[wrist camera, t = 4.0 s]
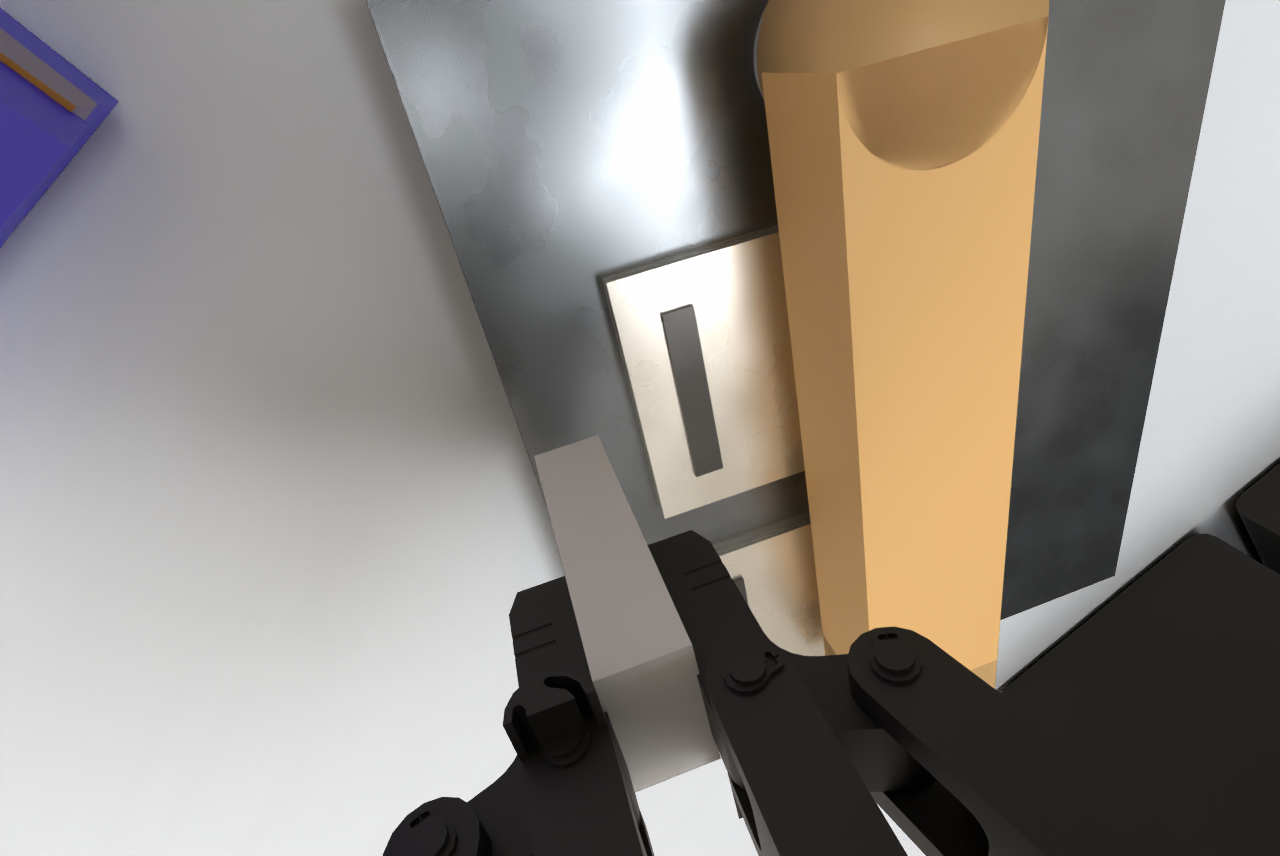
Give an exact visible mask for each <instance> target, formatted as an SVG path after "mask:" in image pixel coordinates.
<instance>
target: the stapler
mask: <svg viewBox="0 0 1280 856" xmlns="http://www.w3.org/2000/svg"><path fill="white" fill-rule="evenodd" d="M117 103H118V101H117V100H116V99H115V98H113V97H112V96H111V95H109V94H108V93H107V92H106V91H104V90H103V89H102V88H101V87H99V86H98V85H97V84H96V83H94V82H93V81H92V80H91V79H89V78H88V77H87V76H85V75H84V74H83V73H82V72H80V71H79V70H78V69H77V68H75V67H74V66H73V65H72V64H70V63H69V62H68V61H67V60H65V59H64V58H63V57H62V56H60V55H59V54H58V53H56V52H55V51H54V50H53V49H51V48H50V47H49V46H48V45H46V44H45V43H44V42H43V41H41V40H40V39H39V38H38V37H36V36H35V35H34V34H32V33H31V32H30V31H29V30H27V29H26V28H25V27H24V26H22V25H21V24H20V23H19V22H17V21H16V20H15V19H14V18H12V17H11V16H10V15H9V14H7V13H6V12H5V11H3V10H2V9H1V8H0V248H1V246H2V245H3V244H4V243H5V241H6V240H7V239H8V238H9V236H10V235H11V234H12V233H13V232H14V230H15V229H16V228H17V227H18V225H19V224H20V223H21V222H22V220H23V219H24V218H25V217H26V215H27V214H28V213H29V212H30V211H31V209H32V208H33V207H34V206H35V204H36V203H37V202H38V201H39V199H40V198H41V197H42V196H43V194H44V193H45V192H46V191H47V190H48V188H49V187H50V186H51V185H52V183H53V182H54V181H55V180H56V178H57V177H58V176H59V175H60V173H61V172H62V171H63V170H64V169H65V167H66V166H67V165H68V164H69V162H70V161H71V160H72V159H73V157H74V156H75V155H76V154H77V152H78V151H79V150H80V149H81V148H82V146H83V145H84V144H85V143H86V141H87V140H88V139H89V138H90V136H91V135H92V134H93V133H94V131H95V130H96V129H97V128H98V127H99V125H100V124H101V123H102V122H103V120H104V119H105V118H106V117H107V115H108V114H109V113H110V112H111V110H112V109H113V108H114V107H115V106H116V104H117Z"/></svg>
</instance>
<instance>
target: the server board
mask: <svg viewBox="0 0 1280 856" xmlns="http://www.w3.org/2000/svg"><path fill="white" fill-rule="evenodd" d="M768 1H769V0H366V2H367V4H368V7H369V10H370V13H371V16H372V18H373V21H374V24H375V27H376V30H377V32H378V35H379V38H380V41H381V44H382V46H383V49H384V52H385V55H386V58H387V60H388V63H389V66H390V69H391V72H392V74H393V77H394V80H395V83H396V86H397V88H398V91H399V94H400V97H401V100H402V102H403V105H404V108H405V111H406V114H407V116H408V119H409V122H410V125H411V128H412V130H413V133H414V136H415V139H416V142H417V144H418V147H419V150H420V153H421V156H422V158H423V161H424V164H425V167H426V170H427V173H428V175H429V178H430V181H431V184H432V187H433V189H434V192H435V195H436V198H437V201H438V203H439V206H440V209H441V212H442V215H443V217H444V220H445V223H446V226H447V229H448V231H449V234H450V237H451V240H452V243H453V245H454V248H455V251H456V254H457V257H458V259H459V262H460V265H461V268H462V271H463V273H464V276H465V279H466V282H467V285H468V287H469V290H470V293H471V296H472V299H473V301H474V304H475V307H476V310H477V313H478V315H479V318H480V321H481V324H482V327H483V329H484V332H485V335H486V338H487V341H488V343H489V346H490V349H491V352H492V355H493V357H494V360H495V363H496V366H497V369H498V371H499V374H500V377H501V380H502V383H503V386H504V388H505V391H506V394H507V397H508V400H509V402H510V405H511V408H512V411H513V414H514V416H515V419H516V422H517V425H518V428H519V430H520V433H521V436H522V439H523V442H524V444H525V447H526V450H527V453H528V456H529V458H530V461H531V464H532V467H533V470H534V472H535V475H536V478H537V481H538V484H539V486H540V489H541V492H542V495H543V498H544V500H545V496H544V493H543V489H542V485H541V481H540V477H539V473H538V469H537V466H536V462H535V458H534V456H536V455H539V454H542V453H545V452H548V451H551V450H554V449H557V448H560V447H563V446H566V445H569V444H572V443H575V442H579V441H582V440H585V439H588V438H591V437H594V436H597V435H598V436H599V439H600V441H601V443H602V445H603V448H604V450H605V452H606V454H607V456H608V459H609V461H610V463H611V465H612V468H613V470H614V472H615V474H616V477H617V479H618V481H619V483H620V485H621V488H622V490H623V492H624V494H625V497H626V499H627V501H628V503H629V505H630V508H631V510H632V512H633V514H634V517H635V519H636V521H637V523H638V525H639V528H640V530H641V532H642V534H643V537H644V539H645V541H646V543H647V545H649V544H652V543H655V542H658V541H661V540H664V539H667V538H669V537H672V536H675V535H678V534H681V533H684V532H686V531H689V530H693V531H694V532H696V533H698V534H699V535H701V536H702V537H704V538H705V539H707V540H709V541H710V542H711V543H712V545H713V547H714V548H715V550H716V552H717V553H718V555H719V557H720V558H721V560H722V563H723V564H724V565H725V567H726V569H727V570H728V572H729V574H730V576H731V579H733V581H734V582H735V584H736V586H737V587H738V589H739V591H740V593H741V594H742V596H743V598H744V599H745V601H746V603H747V604H748V606H749V608H750V610H751V611H752V613H753V615H754V616H755V618H756V620H757V622H758V623H759V625H760V627H761V628H762V630H763V632H764V633H765V634H766V636H767V637H768V638H769V639H770V641H772V642H773V643H774V644H776V645H777V646H778V647H780V648H782V649H784V650H786V651H789V652H791V653H794V654H799V655H804V656H825V650H824V641H823V632H822V622H821V613H820V604H819V595H818V586H817V577H816V567H815V558H814V549H813V540H812V531H811V522H810V512H809V503H808V494H807V485H806V476H805V467H804V457H803V448H802V439H801V430H800V421H799V412H798V402H797V393H796V384H795V375H794V366H793V357H792V347H791V338H790V329H789V320H788V311H787V302H786V293H785V283H784V274H783V265H782V256H781V247H780V238H779V228H778V219H777V210H776V201H775V192H774V183H773V173H772V164H771V155H770V146H769V137H768V128H767V118H766V109H765V101H764V99H763V95H762V92H761V89H760V84H759V78H758V73H757V43H758V37H759V30H760V26H761V22H762V18H763V15H764V12H765V9H766V6H767V4H768ZM1224 5H1225V0H1049V19H1048V31H1047V44H1046V56H1045V69H1044V81H1043V93H1042V106H1041V118H1040V131H1039V143H1038V156H1037V168H1036V181H1035V193H1034V206H1033V218H1032V230H1031V243H1030V255H1029V268H1028V280H1027V293H1026V305H1025V318H1024V330H1023V343H1022V355H1021V368H1020V380H1019V392H1018V405H1017V417H1016V430H1015V442H1014V455H1013V467H1012V480H1011V492H1010V505H1009V517H1008V529H1007V542H1006V554H1005V567H1004V579H1003V592H1002V604H1001V617H1000V620H1002V619H1005V618H1007V617H1010V616H1012V615H1015V614H1017V613H1020V612H1023V611H1025V610H1028V609H1030V608H1033V607H1035V606H1038V605H1041V604H1043V603H1046V602H1048V601H1051V600H1053V599H1056V598H1059V597H1061V596H1064V595H1066V594H1069V593H1071V592H1074V591H1076V590H1079V589H1082V588H1084V587H1087V586H1089V585H1092V584H1094V583H1097V582H1100V581H1102V580H1105V579H1107V578H1110V577H1112V576H1115V571H1116V566H1117V561H1118V556H1119V551H1120V545H1121V540H1122V535H1123V530H1124V525H1125V519H1126V514H1127V509H1128V504H1129V499H1130V493H1131V488H1132V483H1133V478H1134V473H1135V467H1136V462H1137V457H1138V452H1139V447H1140V441H1141V436H1142V431H1143V426H1144V421H1145V415H1146V410H1147V405H1148V400H1149V395H1150V389H1151V384H1152V379H1153V374H1154V369H1155V363H1156V358H1157V353H1158V348H1159V343H1160V337H1161V332H1162V327H1163V322H1164V317H1165V311H1166V306H1167V301H1168V296H1169V291H1170V285H1171V280H1172V275H1173V270H1174V265H1175V259H1176V254H1177V249H1178V244H1179V239H1180V233H1181V228H1182V223H1183V218H1184V213H1185V207H1186V202H1187V197H1188V192H1189V187H1190V181H1191V176H1192V171H1193V166H1194V161H1195V155H1196V150H1197V145H1198V140H1199V135H1200V129H1201V124H1202V119H1203V114H1204V109H1205V103H1206V98H1207V93H1208V88H1209V83H1210V78H1211V72H1212V67H1213V62H1214V57H1215V52H1216V46H1217V41H1218V36H1219V31H1220V26H1221V20H1222V15H1223V10H1224ZM545 503H546V500H545ZM546 506H547V504H546ZM547 509H548V508H547Z"/></svg>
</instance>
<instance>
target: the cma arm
mask: <svg viewBox="0 0 1280 856" xmlns="http://www.w3.org/2000/svg"><path fill="white" fill-rule="evenodd" d="M1048 19H1049V0H769V1H768V4H767V6H766V9H765V12H764V15H763V18H762V22H761V26H760V30H759V37H758V43H757V73H758V78H759V84H760V89H761V92H762V95H763V99H764V101H765V109H766V118H767V128H768V137H769V146H770V155H771V164H772V173H773V183H774V192H775V201H776V210H777V219H778V228H779V238H780V247H781V256H782V265H783V274H784V283H785V293H786V302H787V311H788V320H789V329H790V338H791V347H792V357H793V366H794V375H795V384H796V393H797V402H798V412H799V421H800V430H801V439H802V448H803V457H804V467H805V476H806V485H807V494H808V503H809V512H810V522H811V531H812V540H813V549H814V558H815V567H816V577H817V586H818V595H819V604H820V613H821V622H822V632H823V641H824V650H825V656H827V655H840V654H848V653H849V650H850V646H851V644H852V643H853V642H854V641H855V640H856V639H857V638H858V637H859V636H860V635H861V634H863V633H865V632H868V631H870V630H872V629H875V628H881V627H893V626H894V627H899V628H904V629H909V630H913V631H914V632H916V633H918V634H920V635H922V636H924V637H926V638H928V639H929V640H930V641H932V642H933V643H934V644H936V645H937V646H938V647H940V648H941V649H942V650H944V651H945V652H946V653H948V654H949V655H950V656H952V657H953V658H954V659H956V660H957V661H958V662H960V663H961V664H962V665H964V666H965V667H966V668H968V669H969V670H970V671H972V672H973V673H974V674H976V675H977V676H978V677H980V678H981V679H982V680H984V681H985V682H986V683H988V684H989V685H990V686H991V687H993V688H994V689H995V679H996V666H997V654H998V642H999V629H1000V617H1001V604H1002V592H1003V579H1004V567H1005V554H1006V542H1007V529H1008V517H1009V505H1010V492H1011V480H1012V467H1013V455H1014V442H1015V430H1016V417H1017V405H1018V392H1019V380H1020V368H1021V355H1022V343H1023V330H1024V318H1025V305H1026V293H1027V280H1028V268H1029V255H1030V243H1031V230H1032V218H1033V206H1034V193H1035V181H1036V168H1037V156H1038V143H1039V131H1040V118H1041V106H1042V93H1043V81H1044V69H1045V56H1046V44H1047V31H1048Z"/></svg>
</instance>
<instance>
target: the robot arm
mask: <svg viewBox="0 0 1280 856" xmlns="http://www.w3.org/2000/svg"><path fill="white" fill-rule="evenodd" d="M534 458H535V462H536V466H537V469H538V473H539V477H540V481H541V485H542V489H543V493H544V496H545V500H546V504H547V508H548V512H549V516H550V520H551V524H552V527H553V531H554V535H555V539H556V543H557V547H558V551H559V554H560V558H561V562H562V566H563V570H564V574H565V576H563V577H560V578H558V579H555V580H552V581H549V582H546V583H543V584H540V585H538V586H535V587H532V588H529V589H526V590H523V591H521V592H518V593H517V595H516V597H515V600H514V603H513V606H512V609H511V611H510V614H509V618H510V625H511V633H512V638H513V647H514V654H515V658H516V659H515V662H516V669H517V676H518V684H519V688H518V689H517V690H516V691H515V692H514V693H513V695H512V697H511V699H510V700H509V702H508V704H507V706H506V708H505V711H504V720H503V727H504V729H505V731H506V733H507V735H508V737H509V739H510V741H511V743H512V745H513V747H514V749H515V751H516V753H517V756H516V758H515V760H514V762H513V763H512V764H511V766H510V767H509V768H508V769H507V771H506V772H505V773H504V774H503V775H502V776H501V777H500V778H498V779H497V780H496V781H495V782H494V783H493V784H491V785H490V786H489V787H487V788H486V789H485V790H483V791H482V792H481V793H479V794H478V795H477V796H475V797H474V798H473V799H471V800H470V801H469V802H467V803H466V802H465V801H463V800H461V799H460V798H453V797H441V798H438V799H435V800H432V801H429V802H426V803H424V804H422V805H421V806H420V807H418V808H417V809H415V810H414V811H413V812H411V813H410V814H408V815H407V816H406V817H405V818H404V820H403V821H402V822H401V823H400V825H399V826H398V827H397V828H396V829H395V831H394V832H393V833H392V835H391V838H390V840H389V842H388V844H387V846H386V849H385V851H384V853H383V856H654V853H653V850H652V846H651V843H650V839H649V836H648V832H647V829H646V825H645V823H644V820H643V817H642V815H641V812H640V809H639V806H638V803H637V799H636V795H635V792H637V791H640V790H642V789H645V788H647V787H650V786H652V785H655V784H657V783H660V782H662V781H665V780H667V779H670V778H672V777H675V776H678V775H680V774H683V773H685V772H688V771H690V770H693V769H695V768H698V767H700V766H703V765H705V764H708V763H710V762H713V761H715V760H718V759H720V758H721V757H722V760H723V762H724V764H725V767H726V769H727V771H728V775H729V779H730V783H731V788H732V792H733V796H734V800H735V804H736V808H737V812H738V816H739V819H740V818H742V817H743V818H744V821H745V823H746V826H747V828H748V831H749V833H750V835H751V838H752V840H753V843H754V845H755V848H756V850H757V852H758V855H759V856H908V855H907V854H906V852H905V850H904V849H903V847H902V845H901V844H900V842H899V840H898V839H897V837H896V835H895V834H894V832H893V830H892V829H891V827H890V825H889V824H888V822H887V820H886V819H885V817H884V815H883V814H882V812H881V810H880V809H879V807H878V805H879V806H880V807H881V808H882V809H883V810H884V811H885V812H886V813H887V814H888V815H889V817H890V818H891V819H892V820H893V821H894V822H895V823H896V824H897V825H898V826H899V827H900V828H901V829H902V830H903V832H904V833H905V834H906V835H907V836H908V837H909V838H910V839H911V840H912V841H913V842H914V843H915V844H916V845H917V847H918V848H919V849H920V850H921V851H922V852H923V853H924V854H925V855H926V856H1216V855H1215V854H1213V853H1212V852H1211V851H1209V850H1208V849H1207V848H1205V847H1204V846H1203V845H1201V844H1200V843H1199V842H1197V841H1196V840H1195V839H1193V838H1192V837H1191V836H1189V835H1188V834H1187V833H1185V832H1184V831H1183V830H1181V829H1180V828H1179V827H1177V826H1176V825H1175V824H1173V823H1172V822H1171V821H1169V820H1168V819H1167V818H1166V817H1164V816H1163V815H1162V814H1160V813H1159V812H1158V811H1156V810H1155V809H1154V808H1152V807H1151V806H1150V805H1148V804H1147V803H1146V802H1144V801H1143V800H1142V799H1140V798H1139V797H1138V796H1136V795H1135V794H1134V793H1132V792H1131V791H1130V790H1128V789H1127V788H1126V787H1124V786H1123V785H1122V784H1120V783H1119V782H1118V781H1116V780H1115V779H1114V778H1112V777H1111V776H1110V775H1108V774H1107V773H1106V772H1104V771H1103V770H1102V769H1100V768H1099V767H1098V766H1096V765H1095V764H1094V763H1092V762H1091V761H1090V760H1088V759H1087V758H1086V757H1084V756H1083V755H1082V754H1080V753H1079V752H1078V751H1077V750H1075V749H1074V748H1073V747H1071V746H1070V745H1069V744H1067V743H1066V742H1065V741H1063V740H1062V739H1061V738H1059V737H1058V736H1057V735H1055V734H1054V733H1053V732H1051V731H1050V730H1049V729H1047V728H1046V727H1045V726H1043V725H1042V724H1041V723H1039V722H1038V721H1037V720H1035V719H1034V718H1033V717H1031V716H1030V715H1029V714H1027V713H1026V712H1025V711H1023V710H1022V709H1021V708H1019V707H1018V706H1017V705H1015V704H1014V703H1013V702H1011V701H1010V700H1009V699H1007V698H1006V697H1005V696H1003V695H1002V694H1001V693H999V692H998V691H997V690H995V689H994V688H993V687H991V686H990V685H989V684H988V683H986V682H985V681H984V680H982V679H981V678H980V677H978V676H977V675H976V674H974V673H973V672H972V671H970V670H969V669H968V668H966V667H965V666H964V665H962V664H961V663H960V662H958V661H957V660H956V659H954V658H953V657H952V656H950V655H949V654H948V653H946V652H945V651H944V650H942V649H941V648H940V647H938V646H937V645H936V644H934V643H933V642H932V641H930V640H929V639H928V638H926V637H924V636H922V635H920V634H918V633H916V632H914V631H913V630H909V629H904V628H899V627H894V626H893V627H881V628H875V629H872V630H870V631H868V632H865V633H863V634H861V635H860V636H859V637H858V638H857V639H856V640H855V641H854V642H853V643H852V644H851V646H850V650H849V653H848V654H840V655H827V656H804V655H799V654H794V653H791V652H789V651H786V650H784V649H782V648H780V647H778V646H777V645H776V644H774V643H773V642H772V641H770V639H769V638H768V637H767V636H766V634H765V633H764V632H763V630H762V628H761V627H760V625H759V623H758V622H757V620H756V618H755V616H754V615H753V613H752V611H751V610H750V608H749V606H748V604H747V603H746V601H745V599H744V598H743V596H742V594H741V593H740V591H739V589H738V587H737V586H736V584H735V582H734V581H733V579H731V576H730V574H729V572H728V570H727V569H726V567H725V565H724V564H723V563H722V560H721V558H720V557H719V555H718V553H717V552H716V550H715V548H714V547H713V545H712V543H711V542H710V541H709V540H707V539H705V538H704V537H702V536H701V535H699V534H698V533H696V532H694V531H693V530H689V531H686V532H684V533H681V534H678V535H675V536H672V537H669V538H667V539H664V540H661V541H658V542H655V543H652V544H649V545H647V543H646V541H645V539H644V537H643V534H642V532H641V530H640V528H639V525H638V523H637V521H636V519H635V517H634V514H633V512H632V510H631V508H630V505H629V503H628V501H627V499H626V497H625V494H624V492H623V490H622V488H621V485H620V483H619V481H618V479H617V477H616V474H615V472H614V470H613V468H612V465H611V463H610V461H609V459H608V456H607V454H606V452H605V450H604V448H603V445H602V443H601V441H600V439H599V436H598V435H597V436H594V437H591V438H588V439H585V440H582V441H579V442H575V443H572V444H569V445H566V446H563V447H560V448H557V449H554V450H551V451H548V452H545V453H542V454H539V455H536V456H534ZM719 752H720V753H719ZM720 755H721V757H720ZM876 803H877V804H878V805H877V804H876Z"/></svg>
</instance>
